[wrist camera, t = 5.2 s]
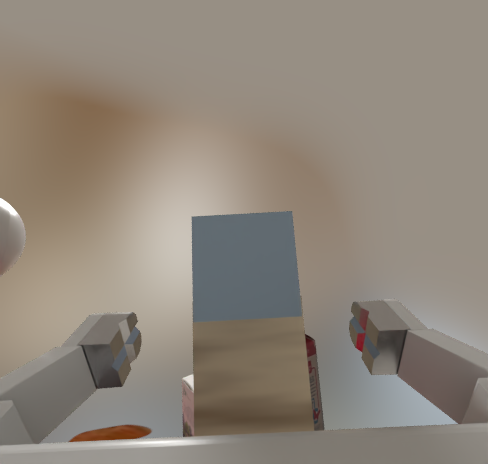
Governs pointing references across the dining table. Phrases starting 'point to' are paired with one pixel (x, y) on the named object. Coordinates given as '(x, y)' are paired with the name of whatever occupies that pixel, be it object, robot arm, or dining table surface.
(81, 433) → the dining table surface
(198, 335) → the post
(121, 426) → the dining table surface
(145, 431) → the dining table surface
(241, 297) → the bar
